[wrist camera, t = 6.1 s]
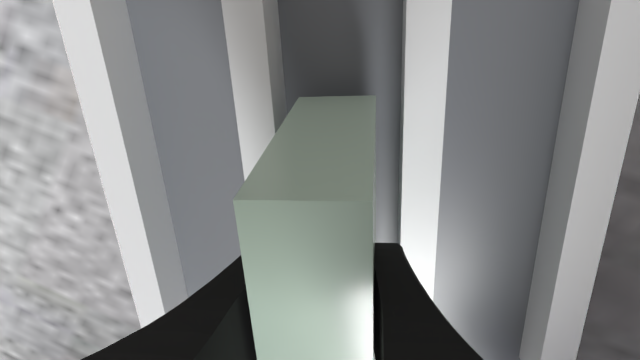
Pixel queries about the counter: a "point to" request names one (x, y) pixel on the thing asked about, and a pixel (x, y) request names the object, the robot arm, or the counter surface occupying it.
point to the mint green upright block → (313, 233)
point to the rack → (391, 139)
